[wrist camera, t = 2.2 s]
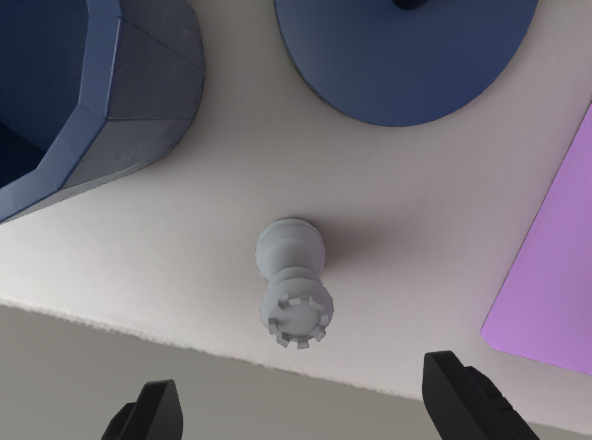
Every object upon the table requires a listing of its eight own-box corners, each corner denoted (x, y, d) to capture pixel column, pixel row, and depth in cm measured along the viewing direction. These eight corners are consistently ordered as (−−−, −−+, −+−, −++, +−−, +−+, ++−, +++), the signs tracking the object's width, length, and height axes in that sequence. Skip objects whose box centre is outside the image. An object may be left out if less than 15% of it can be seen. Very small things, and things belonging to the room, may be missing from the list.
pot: (181, -104, 15) (13, -502, 5) (220, 165, 19) (164, 215, 9) (-100, -91, 14) (-847, -507, 5) (1, 183, 18) (-296, 254, 9)
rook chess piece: (321, 279, 21) (347, 367, 14) (255, 278, 21) (244, 368, 14) (326, 216, 20) (357, 276, 12) (255, 215, 20) (244, 275, 12)
